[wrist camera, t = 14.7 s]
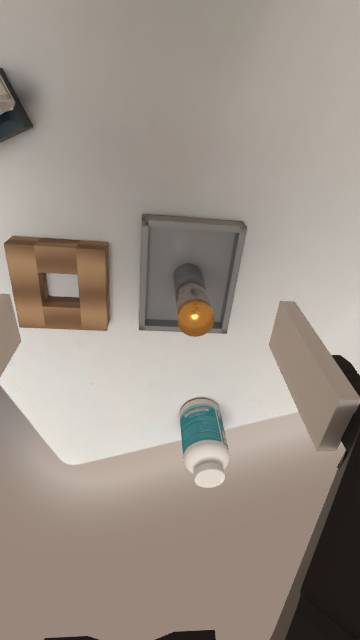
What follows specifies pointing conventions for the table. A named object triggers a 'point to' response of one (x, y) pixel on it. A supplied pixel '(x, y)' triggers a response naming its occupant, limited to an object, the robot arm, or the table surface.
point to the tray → (187, 247)
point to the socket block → (65, 258)
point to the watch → (11, 111)
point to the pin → (192, 301)
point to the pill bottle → (204, 442)
